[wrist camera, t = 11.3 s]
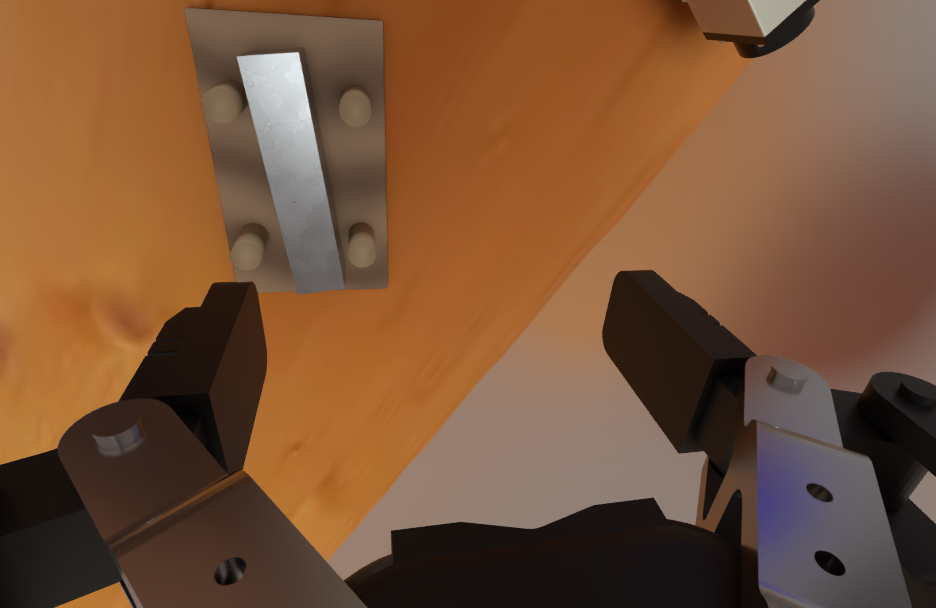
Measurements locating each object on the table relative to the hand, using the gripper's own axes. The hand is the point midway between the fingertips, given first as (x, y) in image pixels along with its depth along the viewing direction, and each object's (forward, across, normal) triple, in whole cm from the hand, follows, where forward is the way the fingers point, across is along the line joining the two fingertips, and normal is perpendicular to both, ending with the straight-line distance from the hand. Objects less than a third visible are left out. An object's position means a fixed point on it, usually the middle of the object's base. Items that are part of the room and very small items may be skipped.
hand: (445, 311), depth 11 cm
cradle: (+30, +6, +5) cm, 31 cm away
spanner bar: (+29, +6, +5) cm, 30 cm away
